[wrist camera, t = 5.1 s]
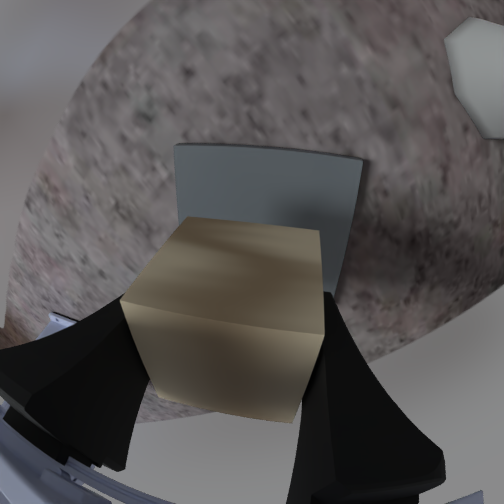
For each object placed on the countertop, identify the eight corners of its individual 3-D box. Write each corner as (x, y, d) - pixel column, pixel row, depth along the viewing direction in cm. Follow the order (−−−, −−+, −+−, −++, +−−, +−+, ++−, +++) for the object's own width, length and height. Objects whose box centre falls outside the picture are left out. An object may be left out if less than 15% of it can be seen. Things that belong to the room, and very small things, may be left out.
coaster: (189, 284, 18) (186, 290, 17) (178, 143, 13) (173, 145, 13) (329, 303, 17) (330, 309, 16) (360, 158, 12) (363, 160, 12)
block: (196, 311, 13) (158, 397, 9) (187, 216, 11) (119, 300, 6) (300, 326, 13) (291, 423, 8) (319, 230, 10) (324, 334, 6)
